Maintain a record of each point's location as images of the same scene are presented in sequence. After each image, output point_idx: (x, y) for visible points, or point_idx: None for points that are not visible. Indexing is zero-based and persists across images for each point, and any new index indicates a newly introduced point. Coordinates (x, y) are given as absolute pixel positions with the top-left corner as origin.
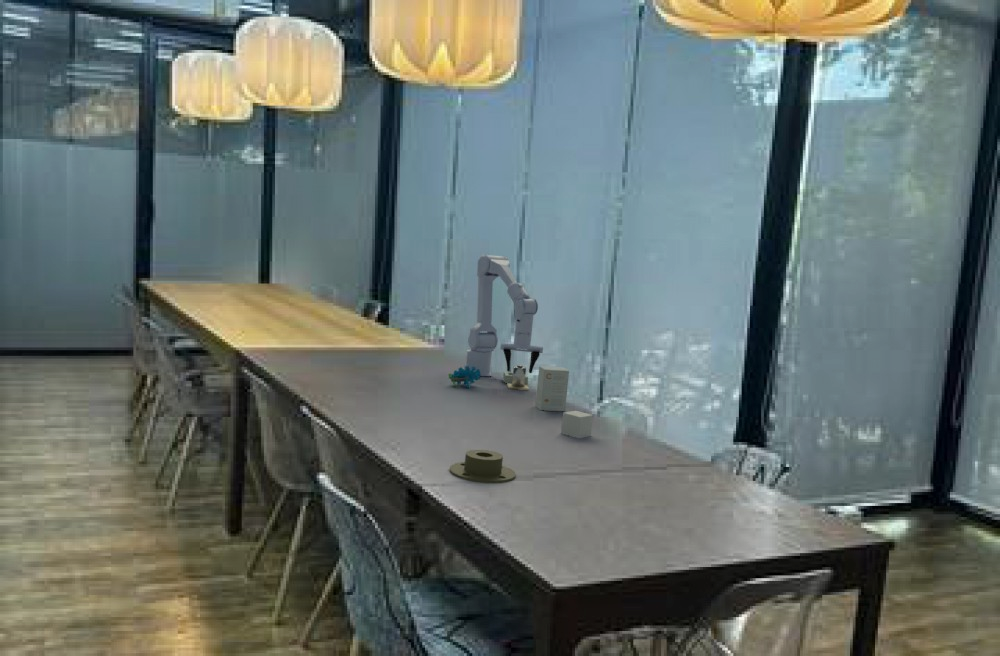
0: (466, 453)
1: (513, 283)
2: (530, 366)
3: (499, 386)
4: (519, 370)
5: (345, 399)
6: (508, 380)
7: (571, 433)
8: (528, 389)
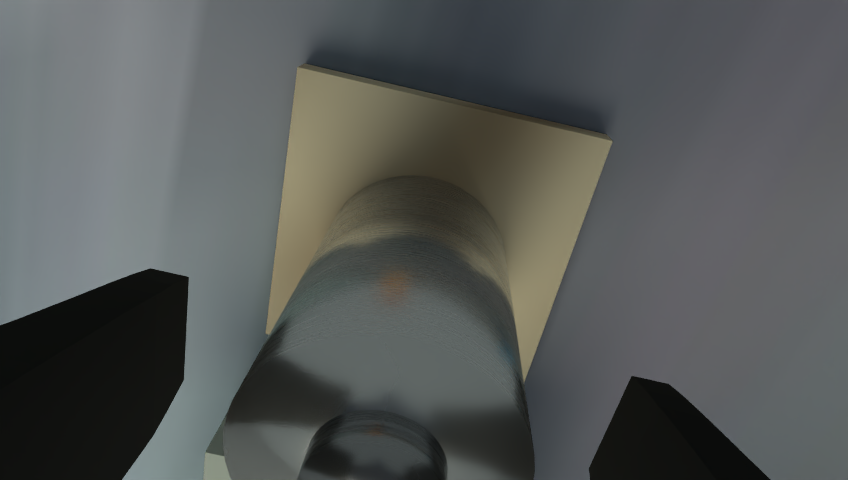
0: None
1: None
2: (93, 396)
3: (671, 282)
4: (433, 313)
5: None
6: None
7: None
8: (307, 65)
